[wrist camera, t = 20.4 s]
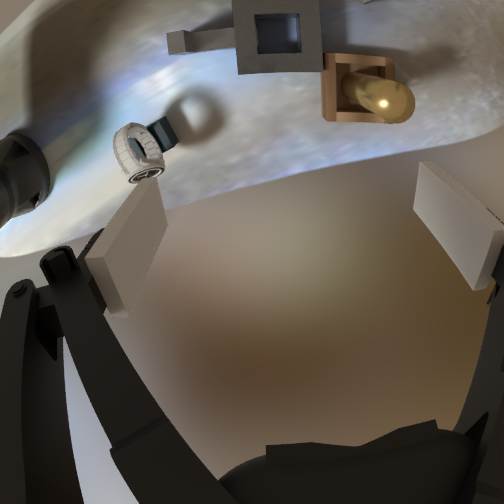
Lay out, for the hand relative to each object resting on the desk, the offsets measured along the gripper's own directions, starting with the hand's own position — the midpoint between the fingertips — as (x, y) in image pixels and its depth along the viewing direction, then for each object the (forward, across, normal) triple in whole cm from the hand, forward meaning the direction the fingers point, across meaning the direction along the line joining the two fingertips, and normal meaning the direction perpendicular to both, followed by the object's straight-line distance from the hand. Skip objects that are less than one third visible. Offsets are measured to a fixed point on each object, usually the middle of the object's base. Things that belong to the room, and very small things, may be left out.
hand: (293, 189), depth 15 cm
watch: (+31, +16, +4) cm, 35 cm away
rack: (+30, -12, -2) cm, 32 cm away
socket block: (+30, -2, -9) cm, 32 cm away
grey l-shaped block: (+30, +6, -9) cm, 32 cm away
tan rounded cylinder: (+29, -12, -2) cm, 31 cm away
